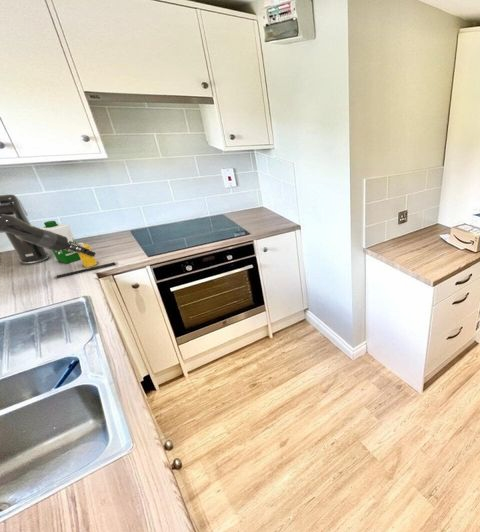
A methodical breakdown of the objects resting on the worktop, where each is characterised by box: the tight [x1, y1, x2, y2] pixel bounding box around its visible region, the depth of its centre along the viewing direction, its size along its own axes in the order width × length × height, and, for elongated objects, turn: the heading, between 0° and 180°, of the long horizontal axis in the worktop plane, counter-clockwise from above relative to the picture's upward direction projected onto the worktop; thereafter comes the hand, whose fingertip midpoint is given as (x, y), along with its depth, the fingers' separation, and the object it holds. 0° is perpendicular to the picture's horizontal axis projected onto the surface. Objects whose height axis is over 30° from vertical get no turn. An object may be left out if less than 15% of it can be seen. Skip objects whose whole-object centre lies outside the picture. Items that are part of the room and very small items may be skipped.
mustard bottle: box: [77, 242, 98, 268], centre depth 157 cm, size 5×5×12 cm
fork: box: [56, 261, 116, 279], centre depth 155 cm, size 3×21×1 cm, turn 133°
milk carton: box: [39, 220, 81, 264], centre depth 160 cm, size 9×9×20 cm
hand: (90, 253), depth 159 cm, fingers closed on mustard bottle, 4 cm apart
